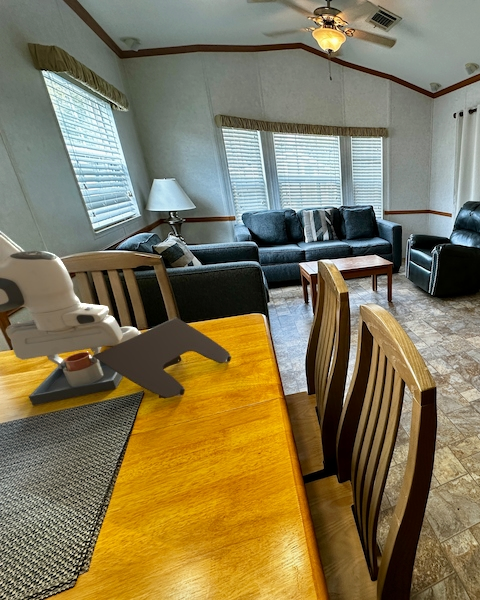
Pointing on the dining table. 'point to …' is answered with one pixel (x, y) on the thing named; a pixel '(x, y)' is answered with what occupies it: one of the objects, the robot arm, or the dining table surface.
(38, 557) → the dining table surface
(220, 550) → the dining table surface
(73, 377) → the cream bowl
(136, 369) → the laptop tray
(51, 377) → the tray
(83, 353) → the terracotta bowl
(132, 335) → the donut
